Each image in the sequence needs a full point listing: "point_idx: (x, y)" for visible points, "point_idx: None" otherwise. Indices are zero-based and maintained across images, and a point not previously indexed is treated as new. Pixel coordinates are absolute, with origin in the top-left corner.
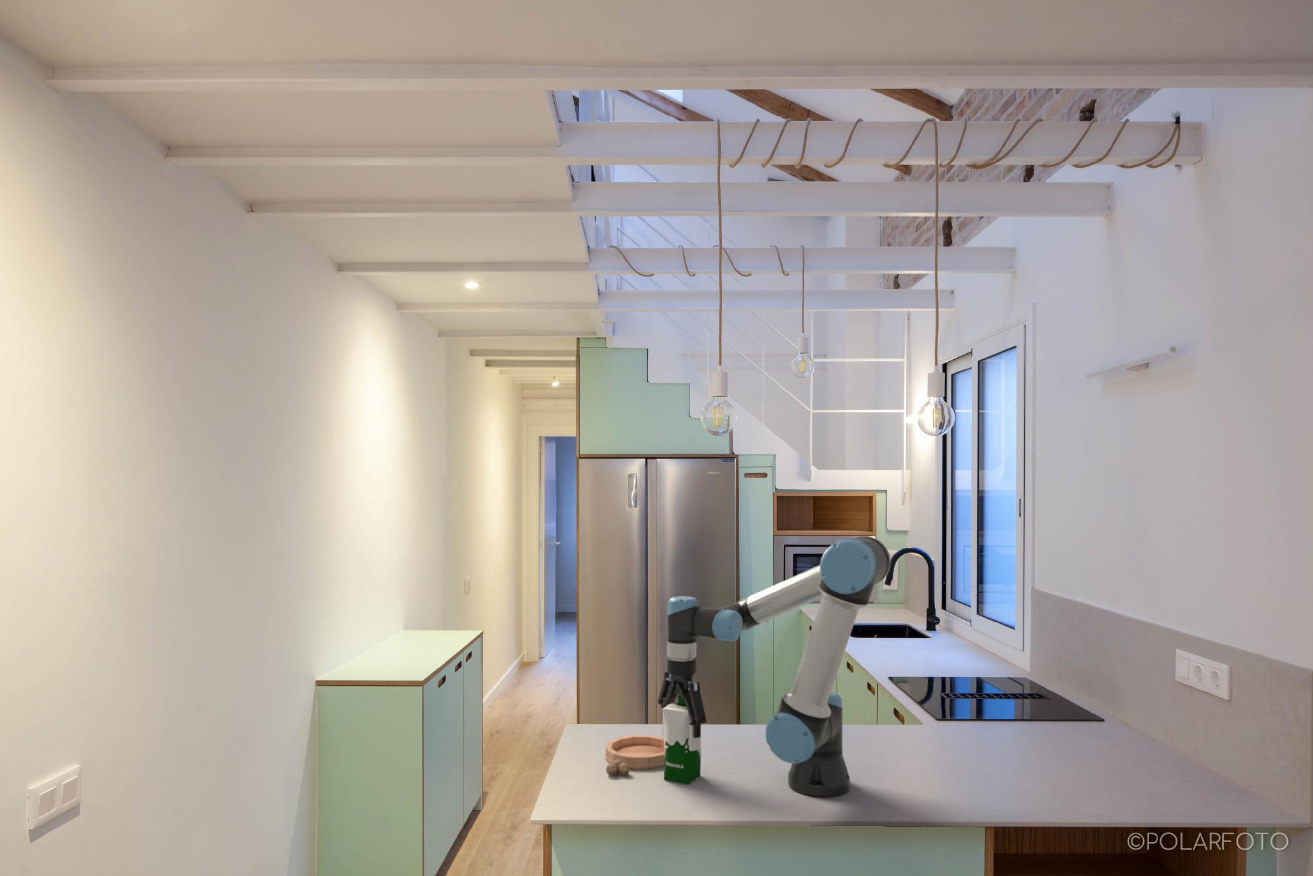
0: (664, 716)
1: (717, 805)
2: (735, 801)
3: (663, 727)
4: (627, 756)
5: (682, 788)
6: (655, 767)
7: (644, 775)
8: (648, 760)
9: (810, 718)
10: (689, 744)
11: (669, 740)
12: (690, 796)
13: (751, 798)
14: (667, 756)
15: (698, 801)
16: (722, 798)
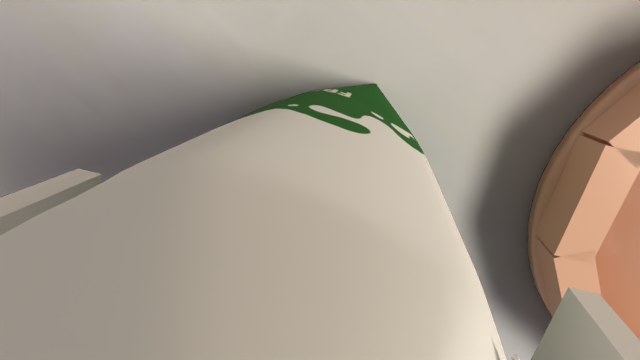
0: (246, 267)
1: (3, 69)
2: (13, 156)
3: (626, 350)
4: None
5: (231, 83)
6: (546, 169)
7: (513, 44)
8: (595, 140)
9: None
10: (56, 191)
11: (256, 117)
12: (132, 44)
13: None
14: (323, 96)
15: (68, 32)
16: (57, 139)
